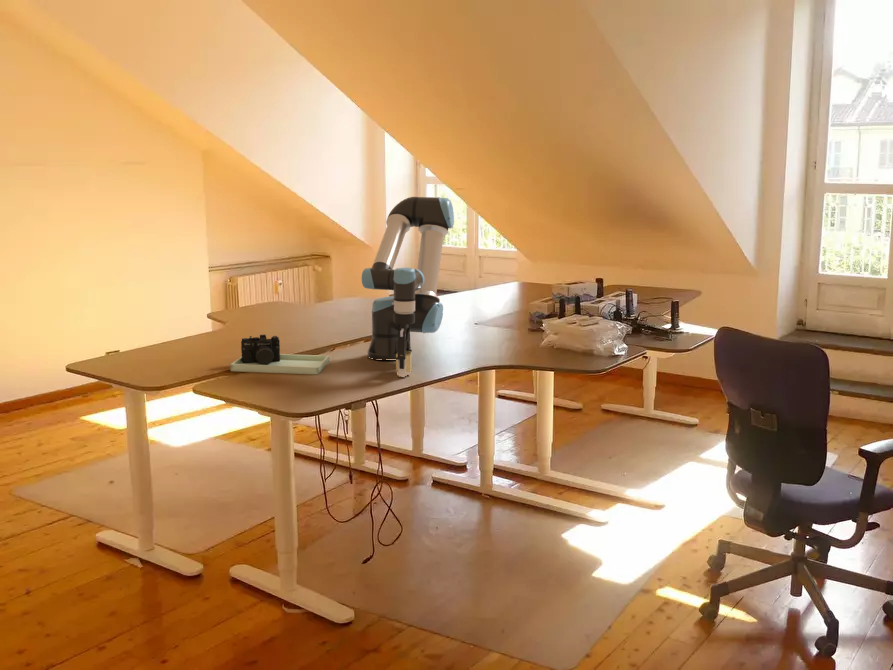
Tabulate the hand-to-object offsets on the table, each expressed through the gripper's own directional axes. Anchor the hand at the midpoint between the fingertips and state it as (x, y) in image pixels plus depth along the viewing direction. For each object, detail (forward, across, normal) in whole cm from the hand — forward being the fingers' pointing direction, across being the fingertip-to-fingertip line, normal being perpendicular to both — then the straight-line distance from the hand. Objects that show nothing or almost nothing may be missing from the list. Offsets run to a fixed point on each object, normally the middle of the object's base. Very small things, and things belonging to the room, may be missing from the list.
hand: (403, 373), depth 315 cm
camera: (0, -4, -54) cm, 54 cm away
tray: (0, -4, -46) cm, 46 cm away
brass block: (0, 0, 0) cm, 0 cm away
